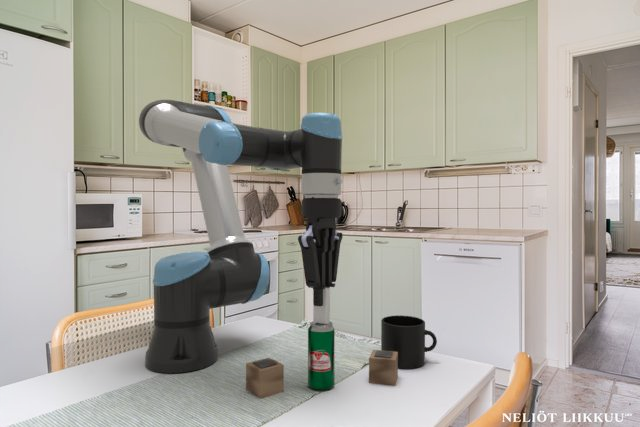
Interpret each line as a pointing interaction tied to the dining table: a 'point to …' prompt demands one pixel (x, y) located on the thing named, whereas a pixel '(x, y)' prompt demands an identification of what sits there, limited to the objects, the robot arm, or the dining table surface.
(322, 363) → the soda can
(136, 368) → the dining table surface
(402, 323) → the mug
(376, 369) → the walnut block
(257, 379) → the walnut block
